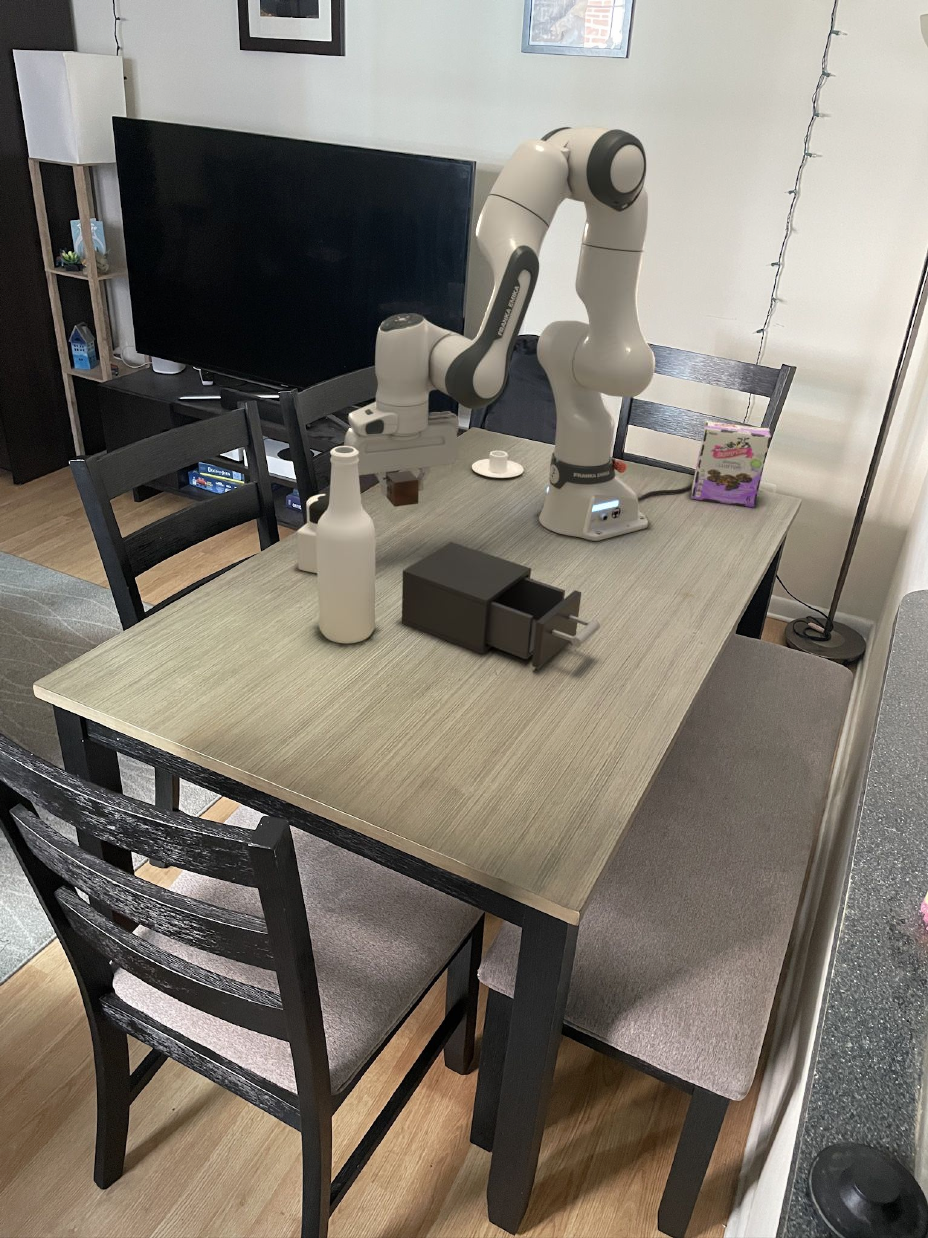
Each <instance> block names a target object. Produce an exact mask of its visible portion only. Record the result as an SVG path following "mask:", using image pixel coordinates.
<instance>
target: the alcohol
mask: <svg viewBox="0 0 928 1238" xmlns="http://www.w3.org/2000/svg"><path fill="white" fill-rule="evenodd" d="M329 453H330V455H331V457H330V460H329V461H330V463H331V465H330V466H331V468H330V484H329V494H330V501H329V506H328V509H327V510H326V511H325V513H324V514H323V515H322V516H321V518H320V519H319V521H318V525H317V529H316V548H317V573H316V574H317V575H316V576H317V599H318V601H317V602H318V627H319V631H320V632H321V633H322V635H323V636H324V637H325V639H327V640H329V641H331V642H334V643H338V644H355V643H359V642H363V641H365V640H366V639H368V638H370V636H371V635H372V634H373V632H374V631H375V628H376V529H375V525H374V521H373V519H372V517H371V516H370V515H369V514H368V513H367V511H366V510H365V509H364V507H363V504H362V496H361V485H360V475H359V473H358V462H359V459H358V454H359V452H358V450H356V449H355V448H353V447H349V446H344V445H339V446H336V447H333V448H332V449H331V450H330V451H329Z"/></svg>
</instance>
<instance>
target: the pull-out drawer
mask: <svg viewBox="0 0 928 1238" xmlns="http://www.w3.org/2000/svg"><path fill="white" fill-rule="evenodd" d="M565 595H566V590H565V589H563V588H559V587H556V586H553V585H551V584H547V583H544V582H542V581H540V580H537V579H534V578H531V577H530V578H527V577H524V578H523V579H521V580H520V581H518V582H517V583H516V584H514V585H513V586H512V587H510V588H509V589H507V590H506V591H505V592H503V593H502V594H501V595H499V596H498V597H497V598H495V599H494V600H492V601H491V602H490V603H489V609H488V622H487V635H486V644H488V645H490V646H493V647H492V648H495V649H498V650H500V651H503V652H505V653H509V654H512V655H513V656H516V657H520V658H522V659H525V660H528V659H529V658H530V657H531V656H532V659H531V667H533V668H536V669H540V668H541V667H542V666H543V665H544V664H546V662H548V660H550V659H551V658H552V657H553V656H555V654H556V653H557V652H559V651H560V650H561V649H562V648H564V646H565V645H566V644H568V643H569V642H571V645H572V646H574V647H575V648H580V647H581V646H582V645H583V644H584V643H585V642H586V641H587V640H588V639H589V638H591V636H593V635H594V634H595V633H596V632H597V631H598V630H599V629H600V628H601V624H600V621H598V620H596V619H592V620H591V621H589V620H586V619H583V618H581V617H579V616H580V615H579V613H580V607H581V600H582V592H581V591H579V590H573V591H572V592H571V593H570V594H568V595H567V596H566V597H565ZM578 624H580V625H582V626H583V628H582V629H581V630H579V632H578V633H577V629H578Z"/></svg>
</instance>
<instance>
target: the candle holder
mask: <svg viewBox="0 0 928 1238" xmlns="http://www.w3.org/2000/svg"><path fill="white" fill-rule="evenodd" d="M508 454H509V453H508V452H506V451H503V450H493V451H490V452H489V458H484V459H479V460H477V461H475V462H473V463H472V465H471V469H472V470H473V471H474V472H475V473H477V474H479V475H482V476H484V477H489V478H497V479H505V478H506V479H507V478H514V477H517V476H520V475H522V474H523V473H524V467H523V466H522V465H521V464H520V463H518V462H516V461H513V460H508V457H509V455H508Z"/></svg>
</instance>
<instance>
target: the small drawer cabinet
mask: <svg viewBox="0 0 928 1238" xmlns="http://www.w3.org/2000/svg"><path fill="white" fill-rule="evenodd" d="M531 575H532V568H531V567H529V566H525V565H523V564H520V563H516V562H513V561H510V560H507V559H504V558H501V557H498V556H495V555H492V554H489V553H487V552H483V551H480V550H478V549H474V548H471V547H468V546H464V545H461V544H459V543H456V542H453V541H450V542H448V543H446V544H444V545H443V546H442V547H440V548H438V549H436V550H435V551H433V552H431V553H429V554H428V555H426V556H424V557H423V558H421V559H420V560H418V561H416V562H414V563H413V564H411V565H410V566H408V567H406V568H405V569H403V570H402V585H401V586H402V587H401V589H402V595H401V599H402V600H401V623H402V624H404V625H406V626H409V627H411V628H414V629H416V630H419V631H421V632H424V633H426V634H429V635H431V636H434V637H436V638H440V639H442V640H444V641H447V642H449V643H452V644H454V645H457V646H459V647H462V648H465V649H468V650H470V651H472V652H475V653H478V654H480V655H484V654H485V653H487V652H488V651H489V650H491V649H492V648H494V647H493V646H490V645H488V644H486V635H487V622H488V609H489V603H490V602H491V601H492V600H494V599H495V598H497V597H498V596H499V595H501V594H502V593H503V592H505V591H506V590H507V589H509V588H510V587H512V586H513V585H514V584H516V583H517V582H518V581H520V580H521V579H523V578H524V577H527V578H530V579H531Z"/></svg>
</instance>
